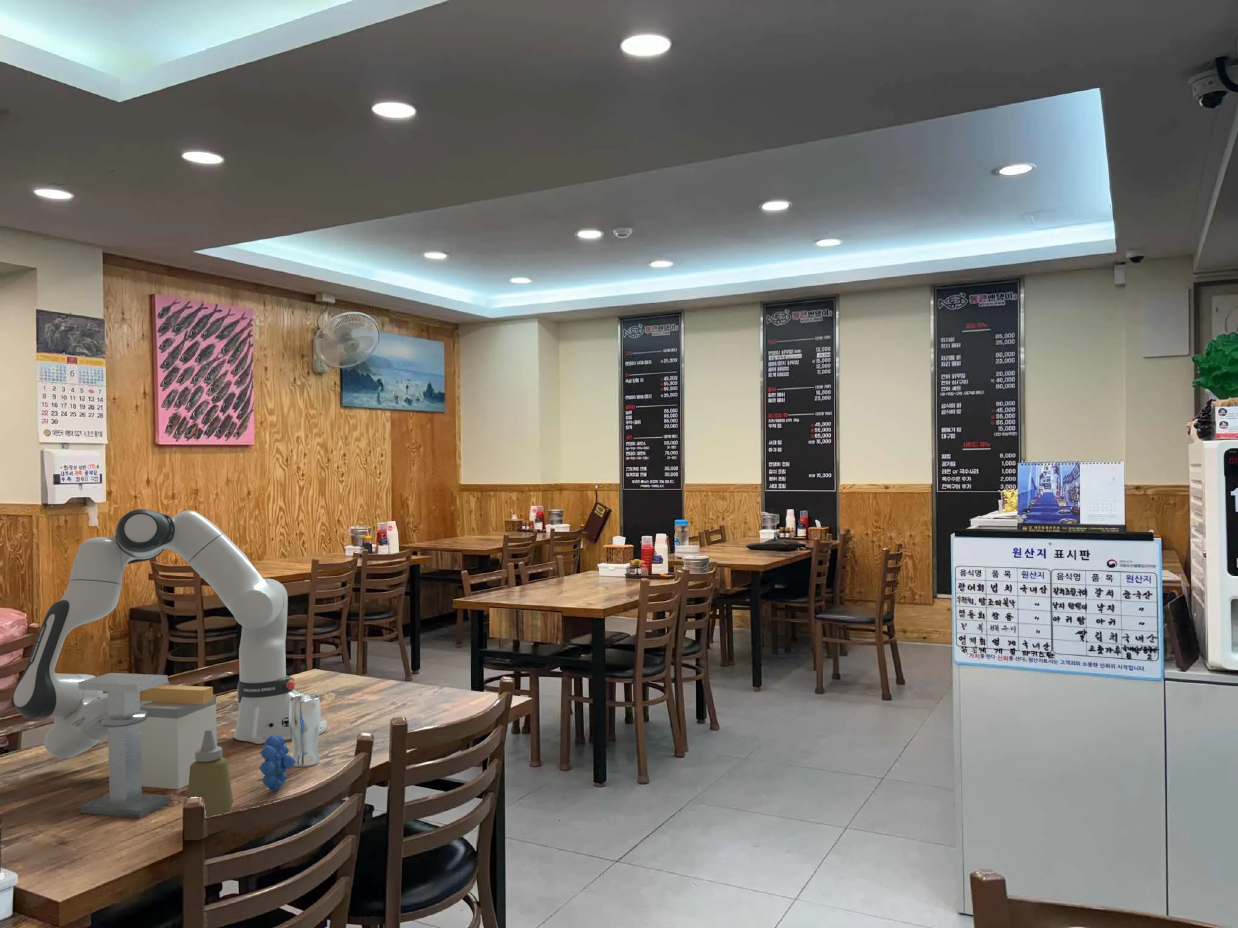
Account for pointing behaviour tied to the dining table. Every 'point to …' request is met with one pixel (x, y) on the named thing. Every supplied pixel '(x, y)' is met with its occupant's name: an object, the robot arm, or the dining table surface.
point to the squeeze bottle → (211, 777)
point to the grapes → (275, 762)
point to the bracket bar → (178, 694)
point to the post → (124, 745)
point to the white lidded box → (173, 741)
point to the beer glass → (305, 728)
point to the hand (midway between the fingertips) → (150, 685)
